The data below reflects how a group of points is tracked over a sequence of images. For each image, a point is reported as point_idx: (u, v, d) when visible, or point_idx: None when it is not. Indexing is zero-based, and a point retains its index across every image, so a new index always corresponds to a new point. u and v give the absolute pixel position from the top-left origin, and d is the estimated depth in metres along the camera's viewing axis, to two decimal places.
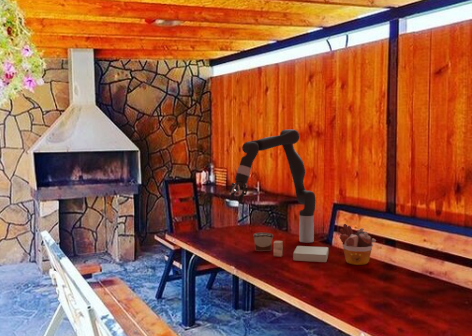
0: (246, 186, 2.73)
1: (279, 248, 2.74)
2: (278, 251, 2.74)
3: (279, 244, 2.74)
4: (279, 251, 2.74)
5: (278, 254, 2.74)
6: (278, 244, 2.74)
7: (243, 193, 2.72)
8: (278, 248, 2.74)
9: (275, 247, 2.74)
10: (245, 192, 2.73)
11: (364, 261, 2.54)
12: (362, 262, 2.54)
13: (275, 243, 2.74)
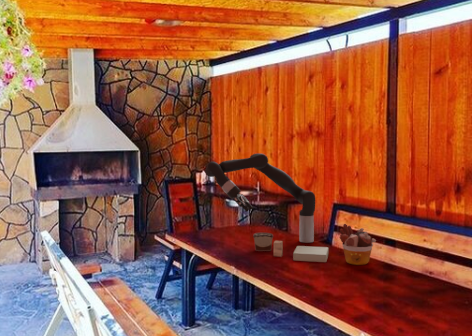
0: (235, 199, 2.74)
1: (279, 248, 2.74)
2: (278, 251, 2.74)
3: (279, 244, 2.74)
4: (279, 251, 2.74)
5: (278, 254, 2.74)
6: (278, 244, 2.74)
7: (240, 206, 2.73)
8: (278, 248, 2.74)
9: (275, 247, 2.74)
10: (241, 202, 2.73)
11: (364, 261, 2.54)
12: (362, 262, 2.54)
13: (275, 243, 2.74)
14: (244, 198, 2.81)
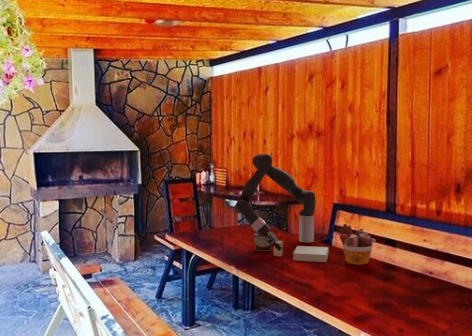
0: (268, 239, 2.71)
1: None
2: (278, 251, 2.74)
3: (279, 244, 2.74)
4: (279, 251, 2.74)
5: (278, 254, 2.74)
6: None
7: (272, 245, 2.72)
8: None
9: (275, 247, 2.74)
10: None
11: (364, 261, 2.54)
12: (362, 262, 2.54)
13: None
14: (274, 236, 2.78)
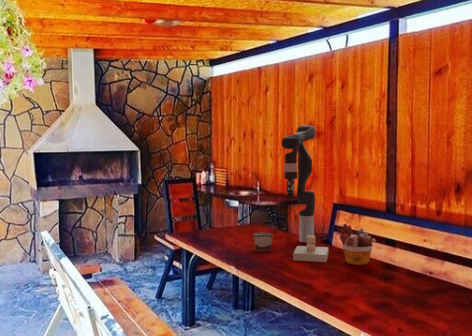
0: (288, 183, 2.75)
1: (312, 243, 2.69)
2: (311, 246, 2.69)
3: (312, 239, 2.69)
4: (312, 246, 2.69)
5: (311, 249, 2.69)
6: (311, 239, 2.69)
7: (287, 191, 2.76)
8: (311, 243, 2.69)
9: (308, 242, 2.69)
10: (290, 189, 2.76)
11: (364, 261, 2.54)
12: (362, 262, 2.54)
13: (308, 238, 2.69)
14: (294, 186, 2.84)
